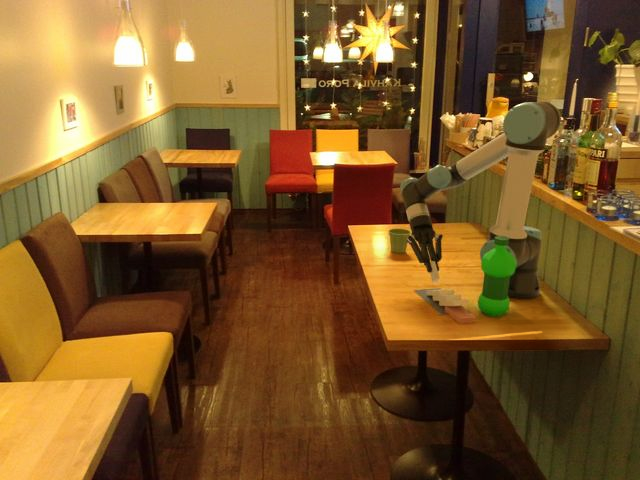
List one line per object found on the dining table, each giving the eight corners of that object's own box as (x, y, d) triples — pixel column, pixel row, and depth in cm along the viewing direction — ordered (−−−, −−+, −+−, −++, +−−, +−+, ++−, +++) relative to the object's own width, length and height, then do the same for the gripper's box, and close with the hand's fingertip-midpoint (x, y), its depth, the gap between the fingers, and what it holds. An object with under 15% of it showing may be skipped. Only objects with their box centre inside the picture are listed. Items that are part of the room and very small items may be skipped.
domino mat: (413, 291, 207) (413, 290, 207) (439, 289, 210) (440, 288, 210) (441, 317, 187) (441, 315, 187) (470, 314, 190) (471, 312, 189)
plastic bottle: (487, 322, 184) (497, 244, 177) (469, 308, 194) (477, 234, 186) (515, 319, 187) (526, 242, 180) (496, 305, 197) (506, 232, 189)
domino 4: (444, 305, 190) (459, 318, 181) (459, 304, 191) (475, 317, 182) (444, 310, 191) (459, 323, 181) (458, 309, 192) (474, 322, 183)
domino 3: (438, 300, 194) (453, 300, 184) (453, 299, 195) (468, 299, 186) (439, 305, 194) (454, 306, 184) (453, 304, 195) (468, 304, 186)
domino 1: (426, 290, 203) (439, 290, 193) (440, 289, 204) (453, 289, 195) (426, 295, 203) (440, 295, 193) (440, 294, 204) (454, 294, 194)
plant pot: (411, 255, 247) (412, 234, 245) (387, 254, 248) (389, 234, 245) (408, 248, 256) (409, 228, 254) (385, 247, 257) (387, 228, 254)
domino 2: (432, 295, 199) (446, 295, 189) (446, 294, 200) (460, 294, 190) (432, 300, 198) (446, 300, 189) (446, 299, 200) (461, 299, 190)
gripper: (432, 224, 217) (449, 284, 206) (398, 225, 213) (414, 286, 203) (440, 213, 210) (458, 274, 200) (405, 214, 207) (421, 276, 196)
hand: (436, 280), depth 201 cm, fingers closed
